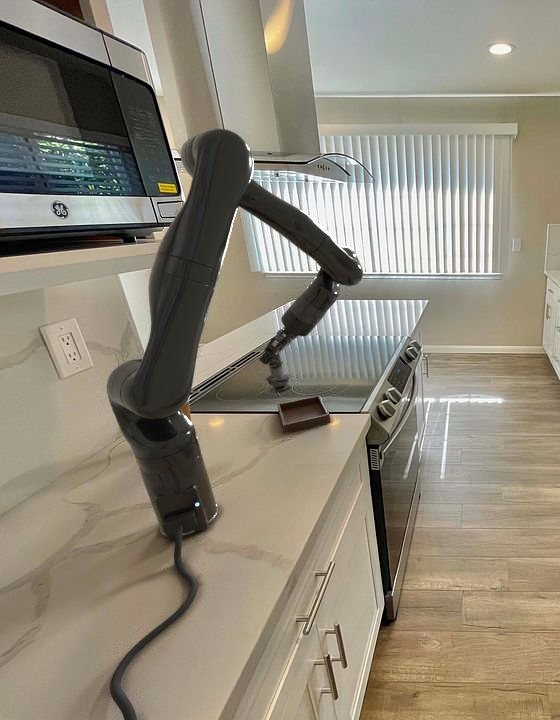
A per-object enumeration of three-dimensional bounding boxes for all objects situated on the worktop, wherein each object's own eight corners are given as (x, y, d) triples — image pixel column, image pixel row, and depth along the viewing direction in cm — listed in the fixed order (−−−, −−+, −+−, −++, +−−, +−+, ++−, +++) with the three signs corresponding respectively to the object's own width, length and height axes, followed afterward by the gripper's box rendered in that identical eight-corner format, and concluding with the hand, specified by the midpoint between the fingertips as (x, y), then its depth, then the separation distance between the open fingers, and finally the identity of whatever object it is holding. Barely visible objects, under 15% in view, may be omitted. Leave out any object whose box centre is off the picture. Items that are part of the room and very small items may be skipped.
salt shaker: (275, 395, 103) (266, 352, 98) (264, 389, 106) (255, 347, 102) (296, 387, 107) (288, 345, 103) (285, 382, 110) (277, 341, 106)
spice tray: (330, 422, 115) (329, 414, 114) (284, 433, 109) (283, 425, 108) (320, 402, 127) (319, 395, 126) (278, 411, 121) (277, 404, 120)
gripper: (304, 297, 105) (266, 342, 109) (280, 310, 92) (238, 359, 96) (326, 317, 107) (289, 359, 111) (306, 331, 94) (265, 379, 98)
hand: (266, 359), depth 104 cm, fingers closed on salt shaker, 3 cm apart
